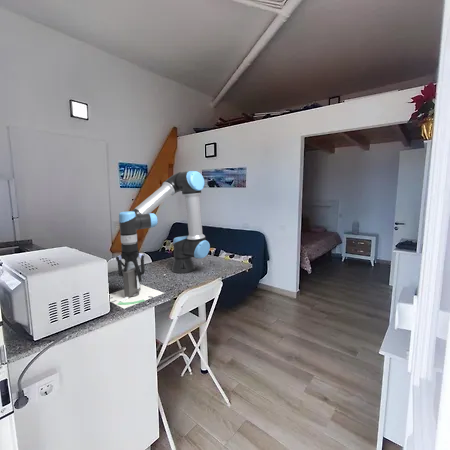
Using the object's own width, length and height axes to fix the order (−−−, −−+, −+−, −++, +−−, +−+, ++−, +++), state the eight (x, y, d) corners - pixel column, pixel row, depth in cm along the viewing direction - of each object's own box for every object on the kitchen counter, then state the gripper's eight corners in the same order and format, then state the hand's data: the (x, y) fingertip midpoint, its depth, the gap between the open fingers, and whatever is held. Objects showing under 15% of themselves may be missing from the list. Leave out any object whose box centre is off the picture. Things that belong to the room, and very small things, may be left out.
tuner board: (140, 286, 143) (140, 283, 143) (165, 295, 129) (164, 292, 129) (100, 299, 126) (100, 296, 126) (124, 311, 112) (124, 308, 112)
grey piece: (133, 290, 132) (131, 267, 131) (143, 291, 131) (141, 267, 129) (115, 301, 119) (113, 275, 118) (126, 302, 118) (124, 276, 116)
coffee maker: (139, 272, 170) (138, 245, 167) (145, 274, 163) (143, 247, 161) (116, 277, 160) (114, 249, 158) (121, 280, 153) (119, 251, 151)
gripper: (108, 245, 119) (112, 293, 122) (146, 243, 122) (150, 289, 125) (112, 242, 126) (116, 287, 130) (148, 240, 129) (152, 284, 133)
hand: (133, 288), depth 127 cm, fingers closed on grey piece, 5 cm apart
